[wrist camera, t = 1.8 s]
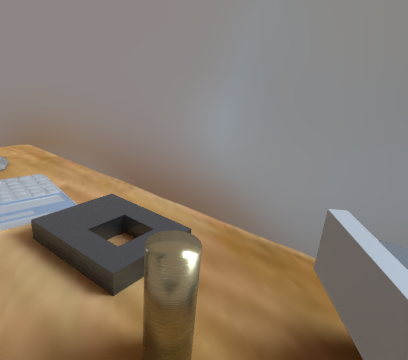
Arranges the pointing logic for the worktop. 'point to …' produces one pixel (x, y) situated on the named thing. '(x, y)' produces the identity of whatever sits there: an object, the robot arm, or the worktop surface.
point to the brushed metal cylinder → (170, 294)
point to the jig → (102, 238)
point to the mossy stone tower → (3, 162)
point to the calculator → (29, 200)
